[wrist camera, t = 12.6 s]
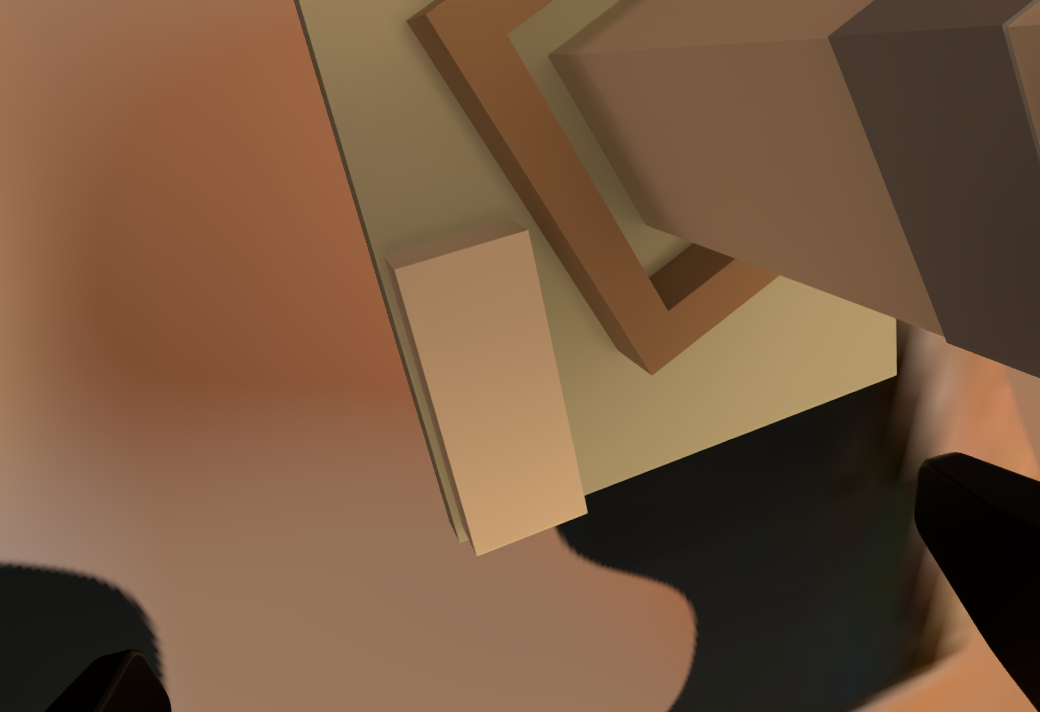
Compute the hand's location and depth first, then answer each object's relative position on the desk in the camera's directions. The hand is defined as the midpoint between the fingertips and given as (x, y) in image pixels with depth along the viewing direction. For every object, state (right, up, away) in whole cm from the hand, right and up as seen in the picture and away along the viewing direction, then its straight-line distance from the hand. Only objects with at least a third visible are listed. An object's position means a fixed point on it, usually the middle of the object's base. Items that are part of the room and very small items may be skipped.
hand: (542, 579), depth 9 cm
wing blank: (-1, +2, +12) cm, 12 cm away
